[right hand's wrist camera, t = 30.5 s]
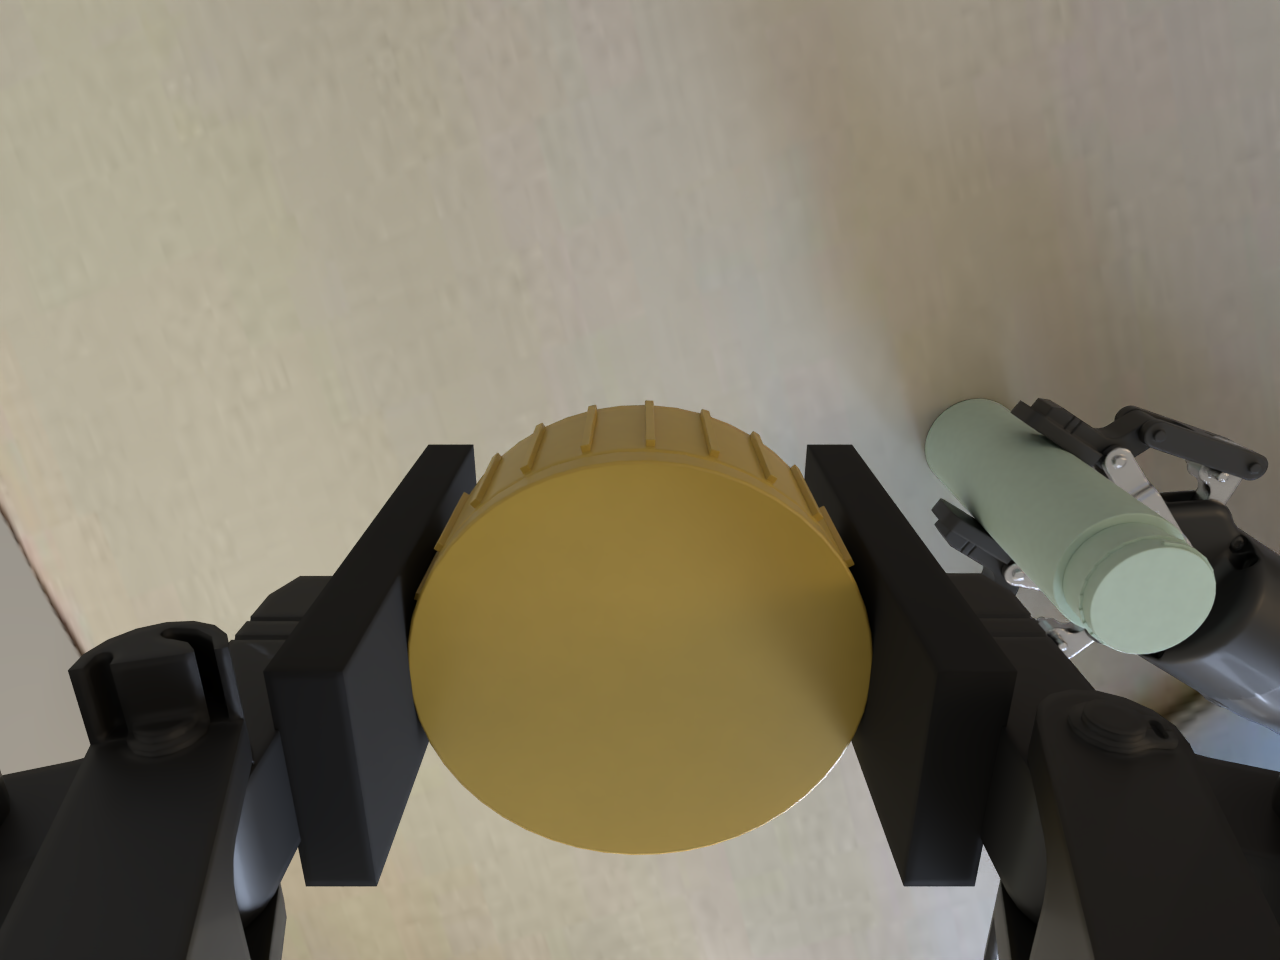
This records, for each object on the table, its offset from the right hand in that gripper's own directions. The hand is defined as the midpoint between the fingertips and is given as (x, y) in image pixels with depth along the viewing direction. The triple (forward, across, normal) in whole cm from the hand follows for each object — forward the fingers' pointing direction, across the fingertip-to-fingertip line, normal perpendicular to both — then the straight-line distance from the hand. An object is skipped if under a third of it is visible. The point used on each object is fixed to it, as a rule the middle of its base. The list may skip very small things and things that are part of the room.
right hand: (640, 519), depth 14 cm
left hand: (+22, +16, -7) cm, 28 cm away
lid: (-4, 0, 0) cm, 4 cm away
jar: (+28, +18, -8) cm, 34 cm away
